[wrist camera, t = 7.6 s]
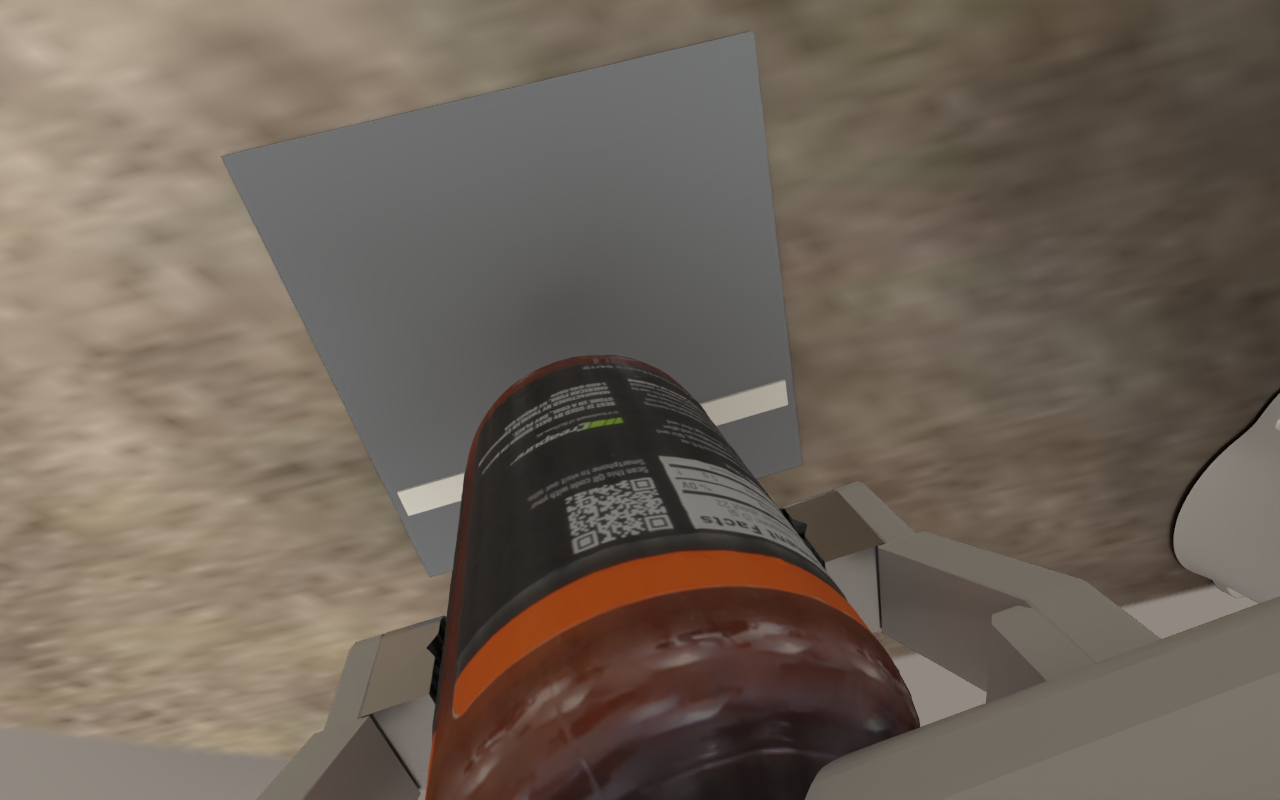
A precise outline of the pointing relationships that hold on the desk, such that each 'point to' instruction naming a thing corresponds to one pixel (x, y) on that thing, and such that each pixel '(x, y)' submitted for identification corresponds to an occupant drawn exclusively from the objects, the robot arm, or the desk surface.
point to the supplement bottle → (639, 611)
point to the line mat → (536, 259)
